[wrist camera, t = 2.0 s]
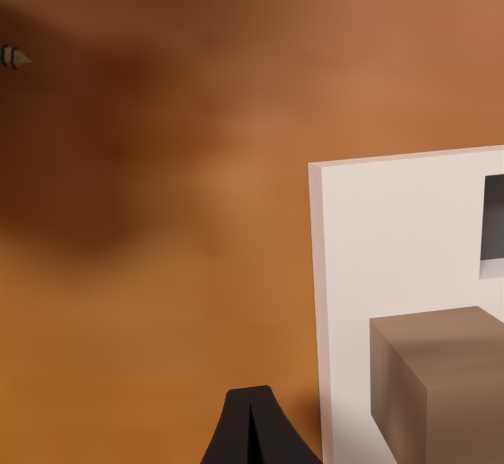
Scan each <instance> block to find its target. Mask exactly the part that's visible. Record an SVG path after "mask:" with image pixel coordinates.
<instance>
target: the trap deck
mask: <svg viewBox="0 0 504 464" xmlns="http://www.w3.org/2000/svg"><path fill="white" fill-rule="evenodd" d="M308 176H309V196H310V215H311V235H312V255H313V274H314V294H315V314H316V333H317V353H318V373H319V392H320V412H321V432H322V451H323V464H397V462H396V460H395V458H394V456H393V454H392V453H391V451H390V449H389V447H388V445H387V443H386V441H385V440H384V438H383V436H382V434H381V432H380V430H379V428H378V427H377V425H376V423H375V421H374V419H373V417H372V416H371V400H370V328H369V318H377V317H386V316H394V315H403V314H412V313H420V312H429V311H437V310H446V309H455V308H463V307H472V306H478V307H480V308H481V309H483V310H484V311H486V312H487V313H489V314H491V315H492V316H494V317H495V318H497V319H498V320H500V321H501V322H503V323H504V145H495V146H485V147H474V148H463V149H453V150H442V151H431V152H421V153H410V154H399V155H389V156H378V157H368V158H357V159H346V160H336V161H325V162H314V163H308Z"/></svg>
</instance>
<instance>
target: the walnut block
mask: <svg viewBox="0 0 504 464" xmlns="http://www.w3.org/2000/svg"><path fill="white" fill-rule="evenodd" d="M369 328H370V400H371V416H372V417H373V419H374V421H375V423H376V425H377V427H378V428H379V430H380V432H381V434H382V436H383V438H384V440H385V441H386V443H387V445H388V447H389V449H390V451H391V453H392V454H393V456H394V458H395V460H396V462H397V464H504V323H503V322H501V321H500V320H498V319H497V318H495V317H494V316H492V315H491V314H489V313H487V312H486V311H484V310H483V309H481V308H480V307H478V306H472V307H463V308H455V309H446V310H437V311H429V312H420V313H412V314H403V315H394V316H386V317H377V318H369Z"/></svg>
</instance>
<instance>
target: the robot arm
mask: <svg viewBox="0 0 504 464" xmlns="http://www.w3.org/2000/svg"><path fill="white" fill-rule="evenodd" d="M200 464H323V463H322V462H321V461H320V459H319V458H318V457H317V456H316V455H315V454H314V453H313V452H312V450H311V449H310V448H309V447H308V445H307V444H306V443H305V442H304V441H303V439H302V438H301V437H300V435H299V434H298V433H297V431H296V430H295V429H294V427H293V426H292V424H291V423H290V421H289V420H288V419H287V417H286V416H285V414H284V412H283V411H282V409H281V407H280V406H279V404H278V402H277V400H276V399H275V397H274V395H273V392H272V390H271V388H270V387H269V386H268V385H264V386H256V387H248V388H240V389H232V390H229V391H228V392H227V393H226V399H225V403H224V407H223V410H222V413H221V416H220V419H219V422H218V425H217V427H216V430H215V432H214V435H213V437H212V440H211V442H210V444H209V446H208V448H207V450H206V453H205V455H204V457H203V459H202V461H201V463H200Z"/></svg>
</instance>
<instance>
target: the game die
mask: <svg viewBox="0 0 504 464" xmlns="http://www.w3.org/2000/svg"><path fill="white" fill-rule="evenodd" d="M0 62H1V63H2V64H3V66H5V67H6V66H7V65H8V66H12V67H13V68H14V69H15V70H16V69H17V67H20V66H23V65H25V64H28V63H31V62H32V61H31V60H30V59H29V58H28V57H26V56H25V55H24V54H23V53H22V52H21V51H20V50H19V49H18V47H17V46H16V47H13V48H12V47H8V45H7V44H5V45H2V46H0Z"/></svg>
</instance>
